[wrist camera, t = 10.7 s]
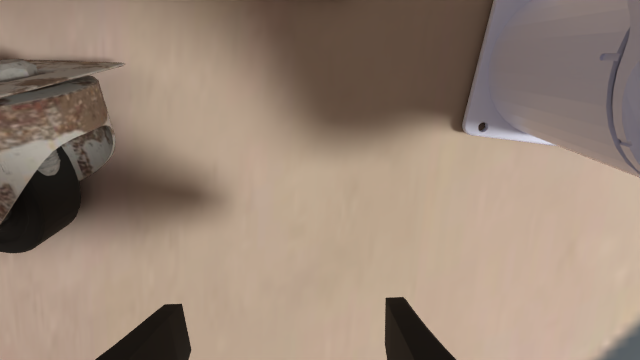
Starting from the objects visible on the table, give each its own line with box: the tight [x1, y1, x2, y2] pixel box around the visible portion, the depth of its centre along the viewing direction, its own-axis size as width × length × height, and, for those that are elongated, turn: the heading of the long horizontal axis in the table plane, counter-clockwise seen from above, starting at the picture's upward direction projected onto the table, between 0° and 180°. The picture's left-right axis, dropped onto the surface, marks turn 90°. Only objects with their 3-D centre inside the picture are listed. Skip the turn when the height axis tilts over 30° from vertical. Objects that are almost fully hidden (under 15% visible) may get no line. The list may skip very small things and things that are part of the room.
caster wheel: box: [0, 59, 125, 253], centre depth 18 cm, size 7×11×10 cm
